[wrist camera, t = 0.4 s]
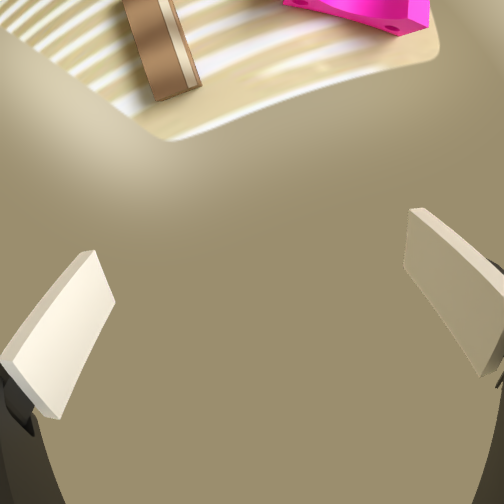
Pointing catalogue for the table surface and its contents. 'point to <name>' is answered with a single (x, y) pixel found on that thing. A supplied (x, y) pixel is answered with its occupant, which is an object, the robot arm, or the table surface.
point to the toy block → (375, 12)
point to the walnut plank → (162, 47)
